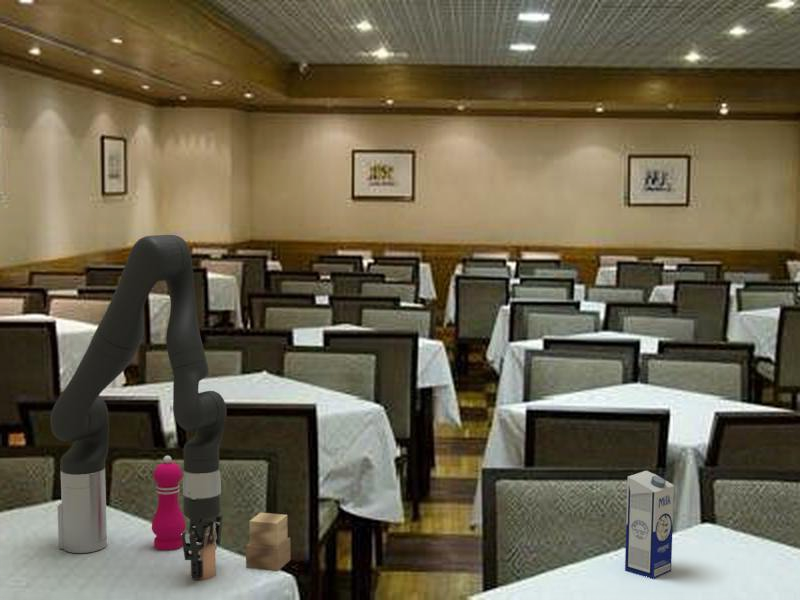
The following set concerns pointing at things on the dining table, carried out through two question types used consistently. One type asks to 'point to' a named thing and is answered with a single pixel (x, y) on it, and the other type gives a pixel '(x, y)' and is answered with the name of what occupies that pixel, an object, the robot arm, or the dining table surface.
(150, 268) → the robot arm
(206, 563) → the rounded stamp handle
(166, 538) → the pepper mill
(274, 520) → the tower top
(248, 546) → the tower base
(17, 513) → the dining table surface
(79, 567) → the dining table surface
